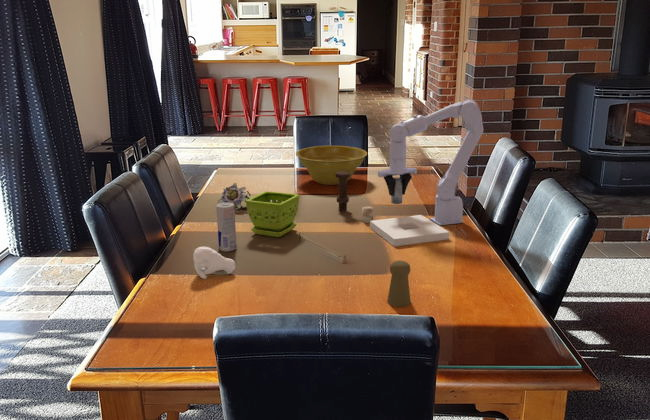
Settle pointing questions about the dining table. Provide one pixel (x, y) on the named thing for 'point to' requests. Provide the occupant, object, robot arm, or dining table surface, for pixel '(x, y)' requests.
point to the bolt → (342, 190)
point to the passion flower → (234, 195)
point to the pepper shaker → (399, 284)
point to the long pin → (397, 191)
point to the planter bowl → (330, 161)
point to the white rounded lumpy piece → (211, 262)
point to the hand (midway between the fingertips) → (396, 194)
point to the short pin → (367, 214)
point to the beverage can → (226, 226)
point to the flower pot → (273, 213)
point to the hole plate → (409, 230)
